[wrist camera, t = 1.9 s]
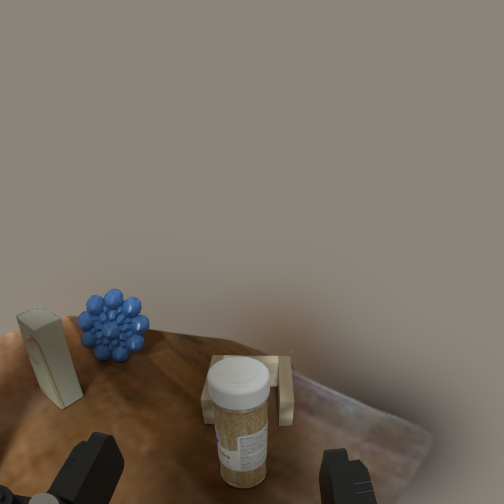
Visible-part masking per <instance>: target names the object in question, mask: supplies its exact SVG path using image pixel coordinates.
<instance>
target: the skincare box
mask: <svg viewBox="0 0 504 504" xmlns="http://www.w3.org/2000/svg"><path fill="white" fill-rule="evenodd" d="M16 317H17V321H18V324H19V327H20V331H21V334H22V337H23V341H24V344H25V347H26V350H27V353H28V356H29V359H30V362H31V364H32V367H33V370H34V373H35V375H36V378H37V380H38V383H39V386H40V388H41V390H42V391H43V393H44V394H45V395H46V396H47V397H48V398H49V399H51V400H52V401H53V402H54V403H55V404H56V405H57V406H58V407H59V408H60V409H64V408H66V407H67V406H69V405H71V404H72V403H74V402H75V401H77V400H78V399H80V398H82V397H83V392H82V390H81V387H80V384H79V381H78V378H77V375H76V372H75V368H74V365H73V362H72V359H71V355H70V352H69V348H68V345H67V341H66V337H65V333H64V329H63V325H62V321H61V318H60V317H59V316H57V315H56V314H54V313H52V312H51V311H49V310H47V309H46V308H44V307H42V306H38V307H36V308H33V309H31V310H28V311H26V312H23V313H21V314H19V315H17V316H16Z"/></svg>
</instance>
